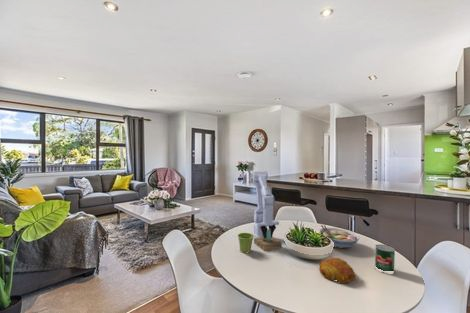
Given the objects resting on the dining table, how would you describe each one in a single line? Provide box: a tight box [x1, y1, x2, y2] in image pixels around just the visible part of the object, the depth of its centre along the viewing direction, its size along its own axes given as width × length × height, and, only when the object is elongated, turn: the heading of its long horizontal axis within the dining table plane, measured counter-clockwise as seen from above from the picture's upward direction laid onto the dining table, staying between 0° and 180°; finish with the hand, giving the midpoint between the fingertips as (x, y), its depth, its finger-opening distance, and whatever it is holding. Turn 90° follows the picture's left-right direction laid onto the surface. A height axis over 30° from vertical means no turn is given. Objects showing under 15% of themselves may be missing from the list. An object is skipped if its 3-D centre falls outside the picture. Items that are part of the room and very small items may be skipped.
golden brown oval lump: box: [318, 257, 356, 284], centre depth 105 cm, size 14×16×8 cm
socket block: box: [253, 236, 282, 252], centre depth 137 cm, size 12×12×3 cm
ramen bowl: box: [318, 224, 361, 248], centre depth 139 cm, size 25×23×8 cm
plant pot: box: [237, 232, 255, 254], centre depth 130 cm, size 9×9×9 cm
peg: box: [265, 228, 271, 243], centre depth 137 cm, size 4×4×8 cm
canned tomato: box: [374, 244, 396, 272], centre depth 110 cm, size 8×8×11 cm
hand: (267, 237), depth 137 cm, fingers closed on peg, 3 cm apart
